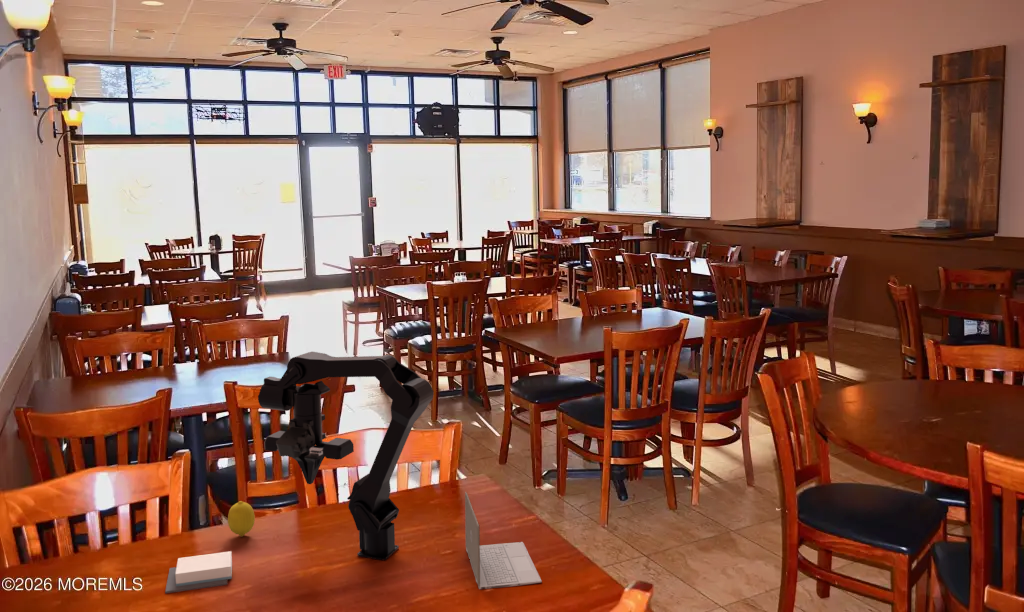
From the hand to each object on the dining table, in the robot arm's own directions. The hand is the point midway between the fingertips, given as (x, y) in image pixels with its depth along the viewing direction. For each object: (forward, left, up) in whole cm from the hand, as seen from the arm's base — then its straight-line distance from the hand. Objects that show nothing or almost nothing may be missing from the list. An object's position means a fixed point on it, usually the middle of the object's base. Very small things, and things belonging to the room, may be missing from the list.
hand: (310, 483), depth 175 cm
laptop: (-42, -4, -14) cm, 45 cm away
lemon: (+16, +3, -13) cm, 21 cm away
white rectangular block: (+7, +18, -11) cm, 22 cm away
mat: (+12, +22, -13) cm, 28 cm away
